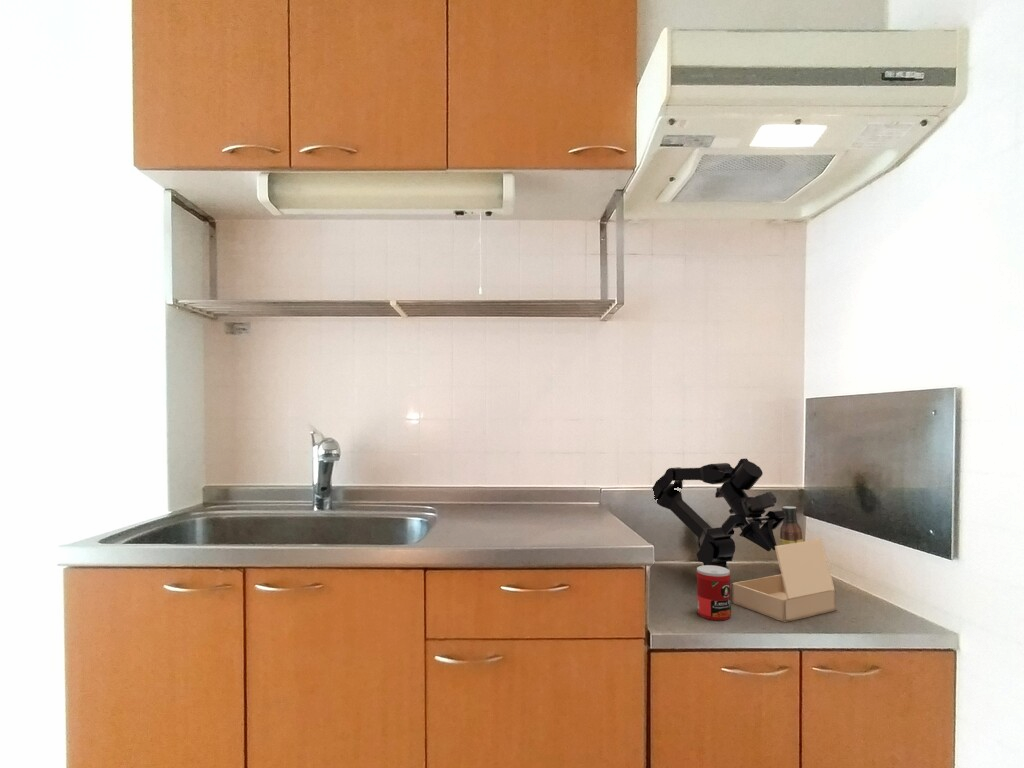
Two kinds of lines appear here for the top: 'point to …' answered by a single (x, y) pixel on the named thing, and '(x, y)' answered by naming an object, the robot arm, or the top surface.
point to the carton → (780, 599)
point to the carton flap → (804, 568)
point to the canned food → (713, 592)
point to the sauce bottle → (790, 527)
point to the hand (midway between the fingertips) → (773, 549)
